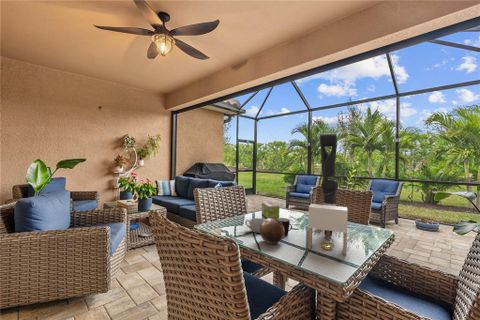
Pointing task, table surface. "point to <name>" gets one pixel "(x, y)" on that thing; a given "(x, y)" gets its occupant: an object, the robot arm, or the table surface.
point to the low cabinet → (328, 221)
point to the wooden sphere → (272, 230)
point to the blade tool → (327, 239)
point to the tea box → (270, 210)
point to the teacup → (255, 224)
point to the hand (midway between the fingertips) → (328, 235)
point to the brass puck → (327, 246)
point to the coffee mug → (285, 225)
